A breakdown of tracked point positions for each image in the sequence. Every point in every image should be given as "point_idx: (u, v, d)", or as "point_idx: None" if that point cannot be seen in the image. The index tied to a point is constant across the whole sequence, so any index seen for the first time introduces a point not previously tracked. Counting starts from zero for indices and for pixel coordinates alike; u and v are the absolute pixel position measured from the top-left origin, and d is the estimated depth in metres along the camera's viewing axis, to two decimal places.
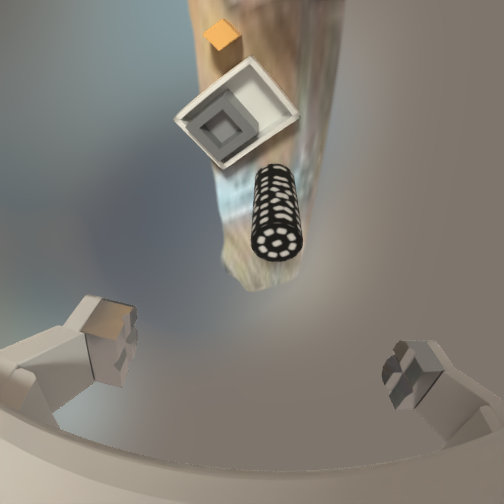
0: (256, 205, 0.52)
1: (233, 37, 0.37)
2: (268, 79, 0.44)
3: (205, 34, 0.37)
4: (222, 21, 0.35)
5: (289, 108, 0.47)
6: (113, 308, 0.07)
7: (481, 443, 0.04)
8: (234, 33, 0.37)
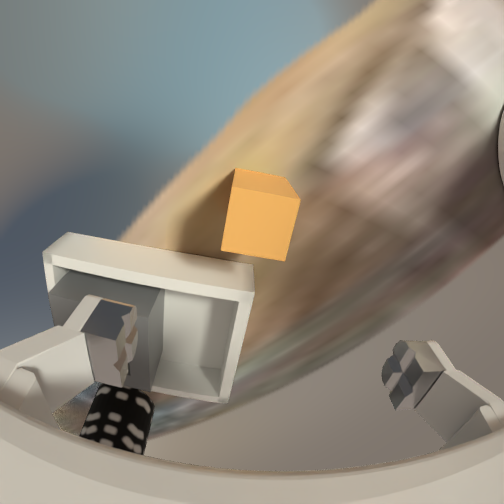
0: None
1: (273, 255, 0.19)
2: (238, 342, 0.24)
3: (236, 194, 0.17)
4: (294, 205, 0.17)
5: (224, 388, 0.27)
6: (113, 308, 0.07)
7: (481, 443, 0.04)
8: (284, 250, 0.18)
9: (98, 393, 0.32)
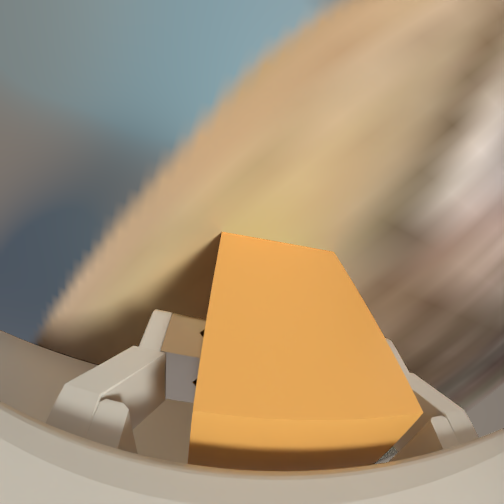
0: None
1: None
2: None
3: (213, 427, 0.04)
4: (401, 426, 0.04)
5: None
6: (188, 323, 0.07)
7: (481, 443, 0.04)
8: None
9: None
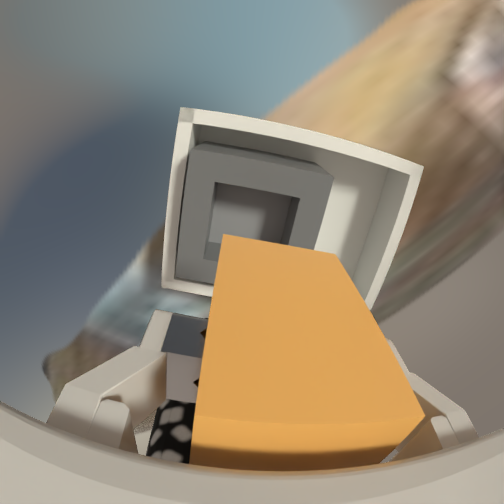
0: (184, 420, 0.19)
1: None
2: (401, 226, 0.22)
3: (215, 431, 0.04)
4: (403, 429, 0.04)
5: (371, 294, 0.24)
6: (188, 323, 0.07)
7: (481, 443, 0.04)
8: None
9: None
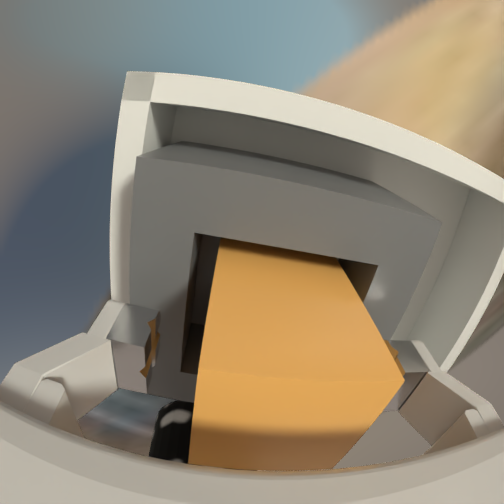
0: None
1: (310, 466, 0.06)
2: (493, 287, 0.12)
3: (216, 386, 0.05)
4: (385, 394, 0.05)
5: None
6: (138, 313, 0.07)
7: (481, 443, 0.04)
8: (335, 458, 0.06)
9: (165, 422, 0.19)
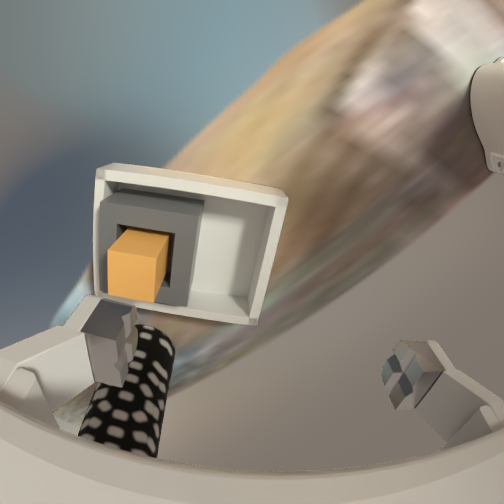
0: (107, 397, 0.25)
1: (144, 298, 0.23)
2: (272, 249, 0.29)
3: (111, 255, 0.21)
4: (152, 262, 0.22)
5: (255, 306, 0.31)
6: (113, 308, 0.07)
7: (481, 443, 0.04)
8: (151, 295, 0.23)
9: None
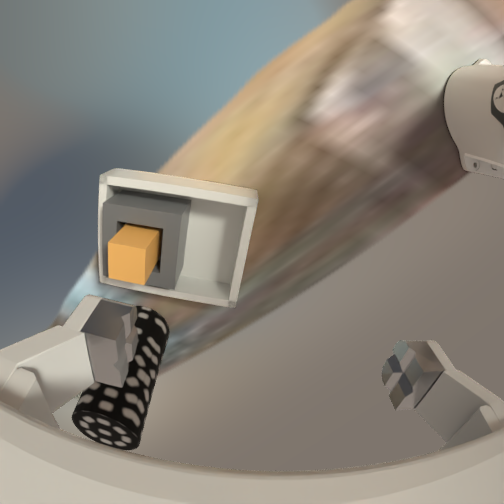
0: None
1: (137, 281, 0.29)
2: (246, 242, 0.34)
3: (110, 246, 0.27)
4: (143, 252, 0.27)
5: (233, 290, 0.36)
6: (113, 308, 0.07)
7: (481, 443, 0.04)
8: (142, 278, 0.28)
9: None
